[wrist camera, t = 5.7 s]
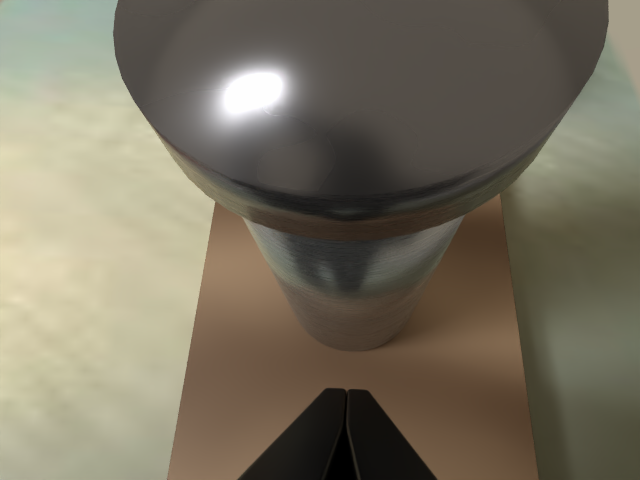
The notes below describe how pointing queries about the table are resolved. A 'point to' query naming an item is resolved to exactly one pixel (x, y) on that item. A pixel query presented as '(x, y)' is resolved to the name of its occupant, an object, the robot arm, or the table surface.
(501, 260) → the board
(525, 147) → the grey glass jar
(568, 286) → the table surface
